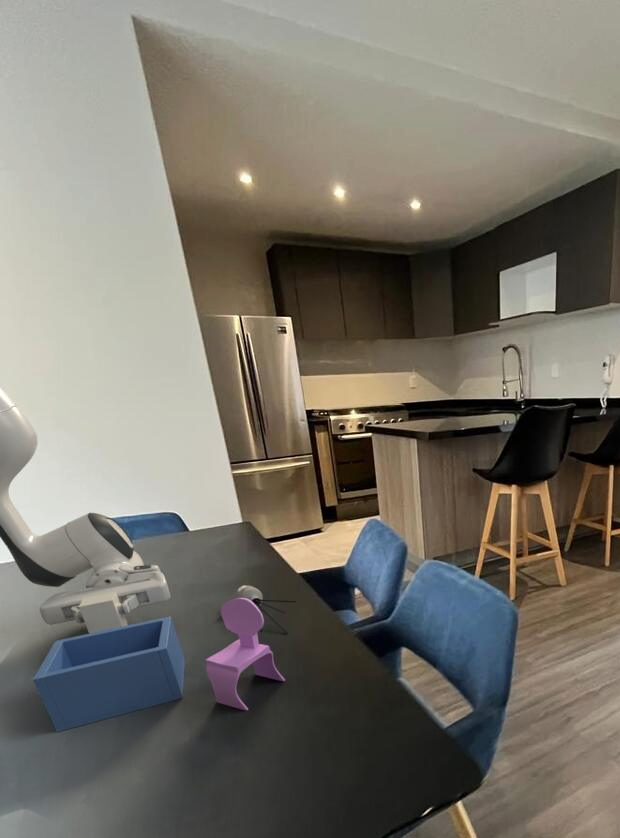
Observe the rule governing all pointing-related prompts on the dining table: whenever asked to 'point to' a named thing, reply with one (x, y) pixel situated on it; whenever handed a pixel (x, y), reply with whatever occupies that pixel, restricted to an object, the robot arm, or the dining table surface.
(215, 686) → the toy chair
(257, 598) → the reed diffuser
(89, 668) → the box
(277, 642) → the dining table surface
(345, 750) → the dining table surface
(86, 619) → the cream rectangular block
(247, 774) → the dining table surface
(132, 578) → the robot arm
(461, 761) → the dining table surface
